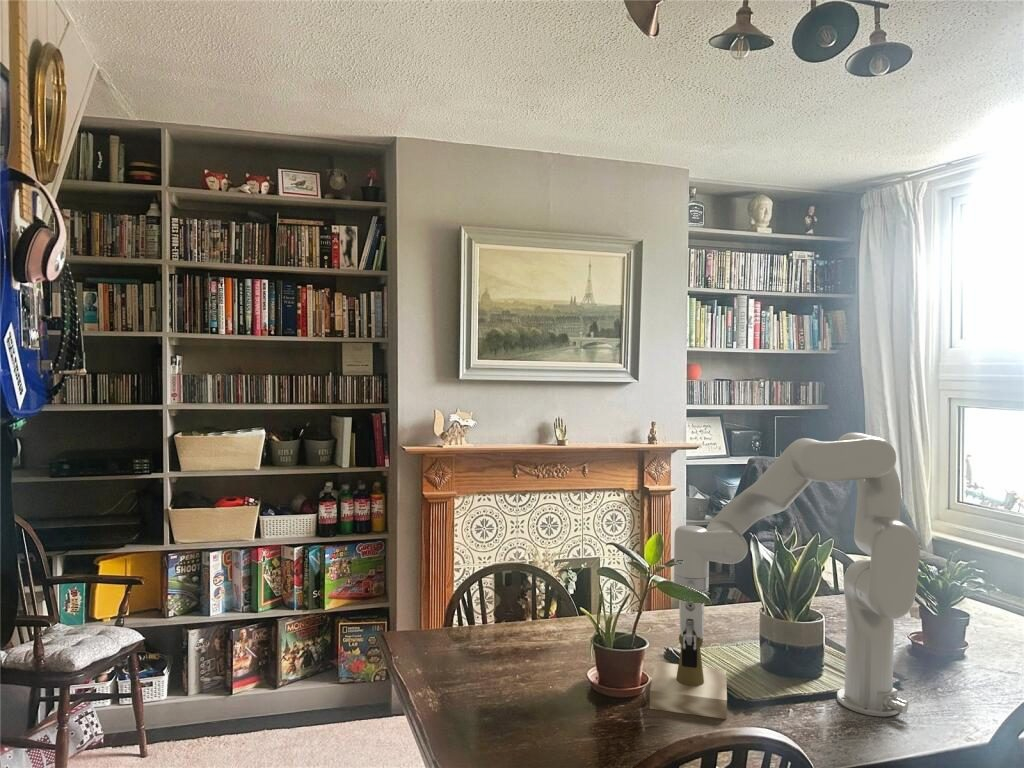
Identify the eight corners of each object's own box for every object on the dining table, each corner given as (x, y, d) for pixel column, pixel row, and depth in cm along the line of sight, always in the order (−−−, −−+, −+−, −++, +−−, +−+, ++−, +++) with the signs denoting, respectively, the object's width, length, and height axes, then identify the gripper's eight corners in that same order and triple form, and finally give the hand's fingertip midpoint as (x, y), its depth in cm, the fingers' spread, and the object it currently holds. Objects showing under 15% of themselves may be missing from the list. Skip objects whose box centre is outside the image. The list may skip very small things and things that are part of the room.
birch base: (725, 687, 169) (726, 670, 169) (726, 719, 153) (727, 700, 153) (655, 678, 173) (655, 661, 173) (649, 708, 158) (649, 690, 157)
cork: (704, 687, 159) (705, 637, 159) (676, 684, 160) (677, 635, 160) (703, 676, 165) (704, 627, 165) (676, 673, 166) (676, 625, 166)
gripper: (708, 595, 153) (707, 675, 154) (709, 573, 170) (708, 645, 170) (671, 592, 155) (670, 671, 156) (676, 570, 172) (675, 642, 172)
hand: (690, 658), depth 163 cm, fingers open, 9 cm apart
